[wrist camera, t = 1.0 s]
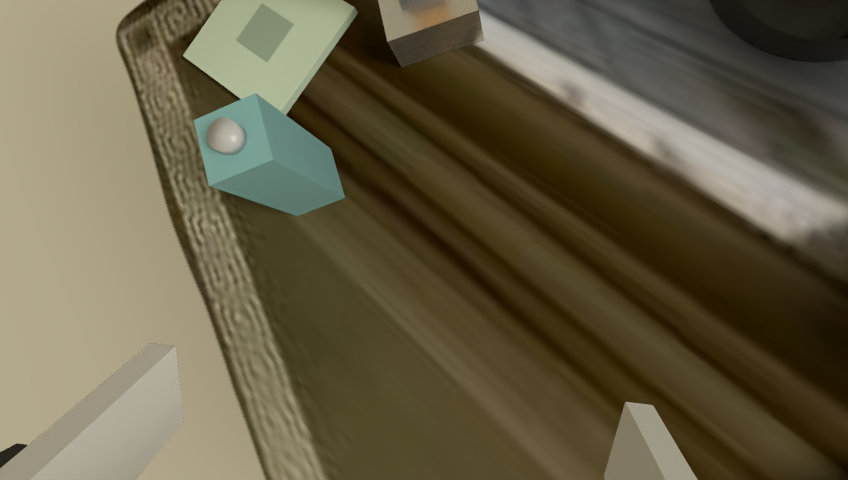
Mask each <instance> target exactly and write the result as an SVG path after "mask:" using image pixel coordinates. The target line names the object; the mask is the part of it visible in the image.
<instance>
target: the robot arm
mask: <svg viewBox="0 0 848 480" xmlns="http://www.w3.org/2000/svg"><path fill="white" fill-rule="evenodd" d="M711 2H712V4H713V6H714V8H715V10H716V11H717V13H718V14H719V16H720V17H721V18H722V20H723V21H724V22H725V23H726V24H727V25H728V26H729V27H730V28H731V29H732V30H733V31H734V32H735V33H736V34H737V35H739V36H740V37H741V38H743V39H744V40H746V41H747V42H749V43H750V44H752V45H754V46H756V47H758V48H760V49H762V50H764V51H767V52H770V53H772V54H775V55H779V56H782V57H786V58H790V59H796V60H803V61H816V62H827V61H841V60H848V0H711ZM182 422H183V413H182V404H181V393H180V384H179V375H178V364H177V354H176V346H172V345H163V344H156V343H150V344H149V345H147V346H146V347H145V348H144V349H143V350H141V352H139V353H138V354H137V355H135V356H134V357H133V358H132V359H131V360H130V361H128V362H127V363H126V364H125V365H124V366H122V367H121V368H120V369H119V370H117V371H116V372H115V373H114V374H113V375H112V376H110V377H109V378H108V379H107V380H105V381H104V382H103V383H102V384H101V385H99V386H98V387H97V388H96V389H95V390H94V391H92V392H91V393H90V394H89V395H88V396H86V397H85V398H84V399H83V400H82V401H81V402H79V403H78V404H77V405H76V406H74V407H73V408H72V409H71V410H70V411H69V412H67V413H66V414H65V415H64V416H62V417H61V418H60V419H59V420H58V421H57V422H55V423H54V424H53V425H52V426H51V427H49V428H48V429H47V430H46V431H44V432H43V433H42V434H41V435H40V436H38V437H37V438H36V439H35V440H34V441H33V442H31V443H30V444H29V445H24V444H15V445H13V446H11V447H10V448H8V449H6V450H4V451H2V452H0V480H136V479H137V477H138V476H139V475H140V474H141V472H142V471H143V470H144V469H145V468H146V466H147V465H148V464H149V463H150V461H151V460H152V459H153V458H154V457H155V455H156V454H157V453H158V452H159V451H160V449H161V448H162V447H163V445H164V444H165V443H166V442H167V441H168V440H169V438H170V437H171V436H172V435H173V433H174V432H175V431H176V430H177V429H178V427H179V426H180V425H181V424H182ZM604 478H605V480H697V479H696V477H695V475H694V474H693V472H692V470H691V468H690V467H689V465H688V463H687V462H686V460H685V458H684V457H683V455H682V453H681V452H680V450H679V448H678V447H677V445H676V443H675V442H674V440H673V438H672V437H671V435H670V433H669V432H668V430H667V428H666V427H665V425H664V423H663V422H662V420H661V418H660V417H659V415H658V413H657V411H656V410H655V408H654V406H653V405H647V404H639V403H631V402H625V405H624V408H623V412H622V415H621V419H620V422H619V426H618V429H617V433H616V436H615V440H614V443H613V447H612V450H611V454H610V457H609V461H608V464H607V467H606V471H605V474H604Z"/></svg>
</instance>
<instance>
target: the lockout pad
mask: <svg viewBox="0 0 848 480" xmlns="http://www.w3.org/2000/svg"><path fill="white" fill-rule="evenodd" d="M357 14H358V12H357V10H356V9H355V7H353V6H351V5H350V4H348V3H347V2H345V1H343V0H221V1H220V3H219V4H218V6H217V7H216V9H215V10H214V11H213V13H212V14H211V16H210V17H209V19H208V20H207V22H206V23H205V24H204V26H203V27H202V29H201V30H200V32H199V33H198V34H197V36H196V37H195V39H194V40H193V42H192V43H191V45H190V46H189V47H188V49H187V50H186V52H185V53H184V55H183V56H184V57H185V58H186V59H188V60H189V61H190V62H192V63H193V64H194V65H196V66H197V67H199V68H200V69H201V70H203V71H204V72H205V73H207V74H208V75H209V76H211V77H212V78H213V79H215V80H216V81H217V82H219V83H220V84H221V85H223V86H224V87H225V88H227V89H228V90H229V91H231V92H232V93H233V94H235V95H236V96H238V97H239V98H240V99H243V98H245V97H248V96H250V95H252V94H254V93H256V94H258V95H259V96H260V97H262V98H263V99H264V100H266V101H267V102H268V103H270V104H271V105H273V106H274V107H275V108H277V109H278V110H279V111H281V112H282V113H283V114H285V115H286V114H287V113H288V111H289V110H290V108H291V107H292V106H293V104H294V103H295V101H296V100H297V99H298V97H299V96H300V94H301V93H302V92H303V90H304V89H305V87H306V86H307V84H308V83H309V82H310V80H311V79H312V77H313V76H314V75H315V73H316V72H317V70H318V69H319V68H320V66H321V65H322V63H323V62H324V60H325V59H326V58H327V56H328V55H329V53H330V52H331V51H332V49H333V48H334V46H335V45H336V44H337V42H338V41H339V39H340V38H341V37H342V35H343V34H344V32H345V31H346V29H347V28H348V27H349V25H350V24H351V22H352V21H353V20H354V18H355V17H356V15H357Z"/></svg>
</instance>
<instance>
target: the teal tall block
mask: <svg viewBox="0 0 848 480" xmlns="http://www.w3.org/2000/svg"><path fill="white" fill-rule="evenodd" d="M194 124H195V128H196V132H197V137H198V141H199V145H200V150H201V154H202V158H203V163H204V167H205V171H206V176H207V180H208V184H209V186H211V187H214V188H216V189H219V190H222V191H225V192H228V193H231V194H234V195H237V196H240V197H243V198H246V199H249V200H251V201H254V202H257V203H260V204H263V205H266V206H269V207H272V208H275V209H278V210H281V211H284V212H287V213H289V214H292V215H295V216H299V215H301V214H304V213H306V212H309V211H312V210H314V209H317V208H320V207H322V206H325V205H327V204H330V203H333V202H335V201H338V200H340V199H343V198H345V196H344V193H343V189H342V186H341V182H340V179H339V176H338V172H337V169H336V165H335V162H334V158H333V155H332V151H331V149H330V148H329V147H328V146H326V145H325V144H324V143H322V142H321V141H320V140H318V139H317V138H316V137H314V136H313V135H312V134H310V133H309V132H308V131H306V130H305V129H303V128H302V127H301V126H299V125H298V124H297V123H295V122H294V121H293V120H291V119H290V118H289V117H287V116H286V115H285V114H283V113H282V112H281V111H279V110H278V109H277V108H275V107H274V106H273V105H271V104H270V103H268V102H267V101H266V100H264V99H263V98H262V97H260V96H259V95H258V94H256V93H254V94H252V95H250V96H248V97H245V98H243V99H241V100H239V101H236V102H234V103H232V104H230V105H227V106H225V107H223V108H221V109H218V110H216V111H214V112H212V113H209V114H207V115H205V116H202V117H200V118H198V119H196V120H194Z"/></svg>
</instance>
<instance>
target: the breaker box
mask: <svg viewBox="0 0 848 480" xmlns="http://www.w3.org/2000/svg"><path fill="white" fill-rule="evenodd" d="M378 2H379V7H380V11H381V16H382V20H383V25H384V29H385V33H386V38H387V42H388V44H389V45H390V47H391V49H392V51H393V53H394V54H395V56H396V58H397V60H398V62H399V63H400V65H401V67H405V66H408V65H411V64H414V63H417V62H420V61H423V60H426V59H429V58H432V57H435V56H438V55H441V54H444V53H447V52H450V51H453V50H456V49H459V48H462V47H465V46H468V45H471V44H474V43H476V42H479V41H482V40H484V38H483V32H482V27H481V21H480V15H479V10H478V6H477V2H476V0H378Z"/></svg>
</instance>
